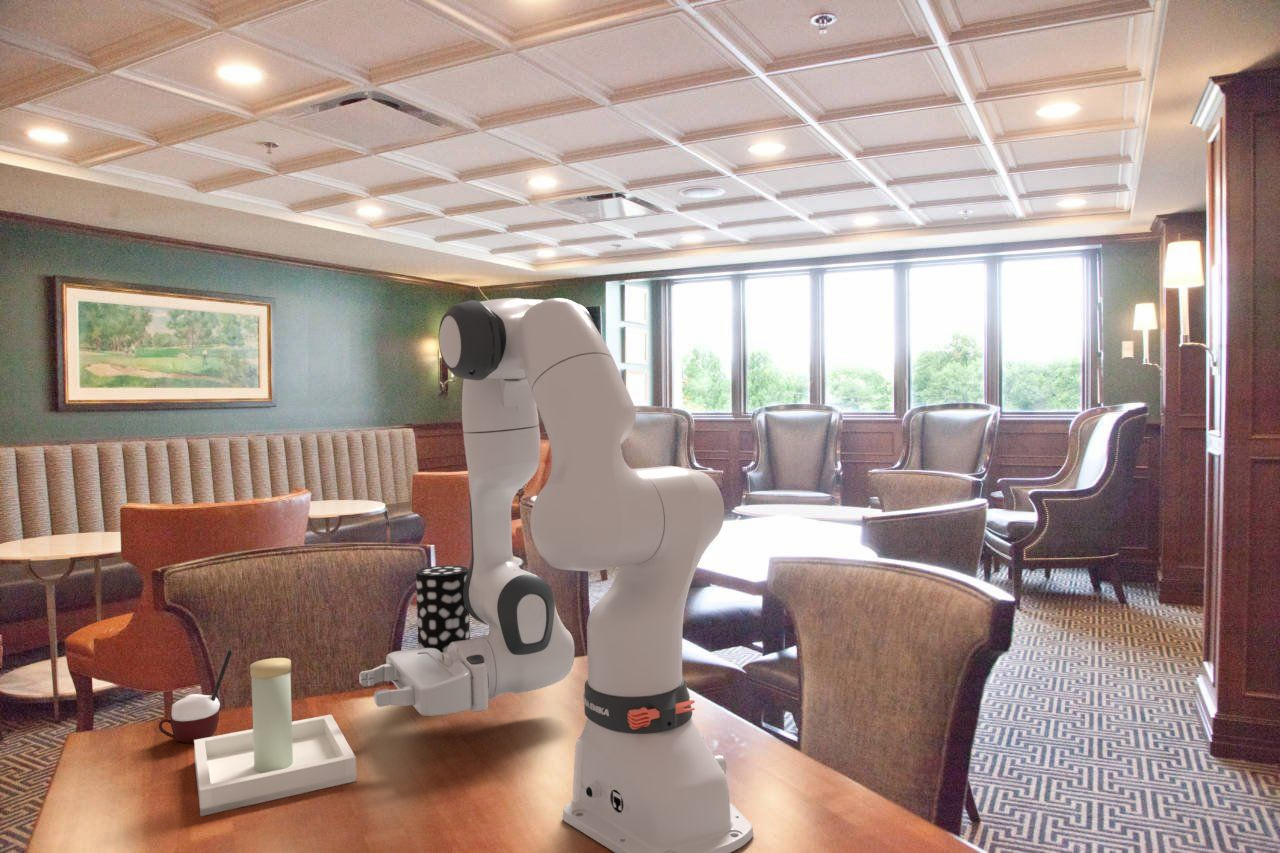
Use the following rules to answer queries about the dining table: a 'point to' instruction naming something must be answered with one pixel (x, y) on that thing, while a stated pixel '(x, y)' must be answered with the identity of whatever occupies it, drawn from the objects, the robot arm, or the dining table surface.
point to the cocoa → (196, 714)
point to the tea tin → (272, 714)
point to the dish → (238, 784)
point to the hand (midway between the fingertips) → (367, 689)
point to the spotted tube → (441, 607)
